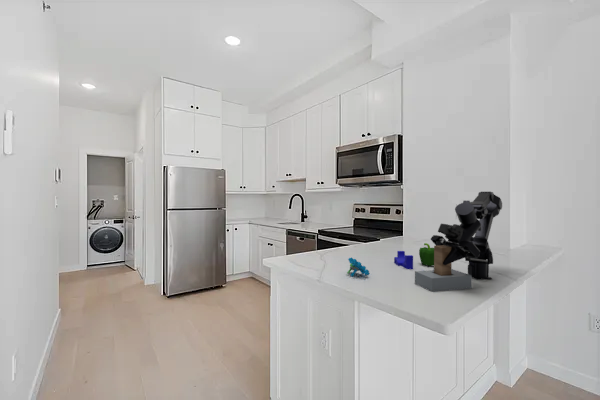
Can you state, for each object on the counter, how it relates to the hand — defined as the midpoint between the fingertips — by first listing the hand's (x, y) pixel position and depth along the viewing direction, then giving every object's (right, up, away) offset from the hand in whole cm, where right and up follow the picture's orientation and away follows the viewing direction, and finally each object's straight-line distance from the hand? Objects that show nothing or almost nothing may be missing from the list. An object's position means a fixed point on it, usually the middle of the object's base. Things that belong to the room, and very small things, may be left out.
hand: (439, 262), depth 106 cm
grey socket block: (+1, -8, 0) cm, 8 cm away
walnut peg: (+1, -7, 0) cm, 7 cm away
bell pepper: (+11, -8, +33) cm, 35 cm away
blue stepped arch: (-2, -8, +31) cm, 32 cm away
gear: (-26, -8, +14) cm, 31 cm away
